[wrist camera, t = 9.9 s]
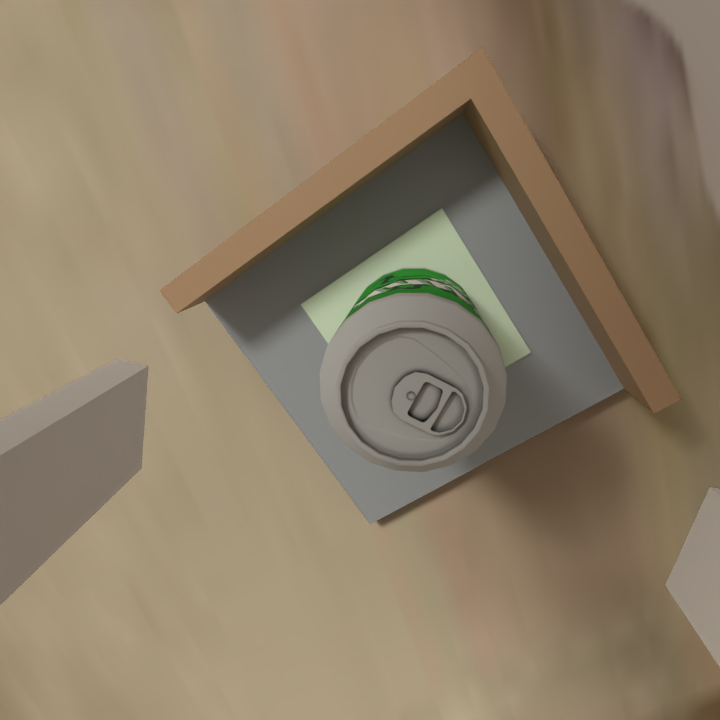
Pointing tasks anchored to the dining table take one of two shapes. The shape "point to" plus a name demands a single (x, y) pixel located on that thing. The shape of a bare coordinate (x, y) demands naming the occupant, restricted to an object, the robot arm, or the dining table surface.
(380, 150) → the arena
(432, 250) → the pad
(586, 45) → the dining table surface
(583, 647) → the dining table surface
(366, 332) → the soda can
